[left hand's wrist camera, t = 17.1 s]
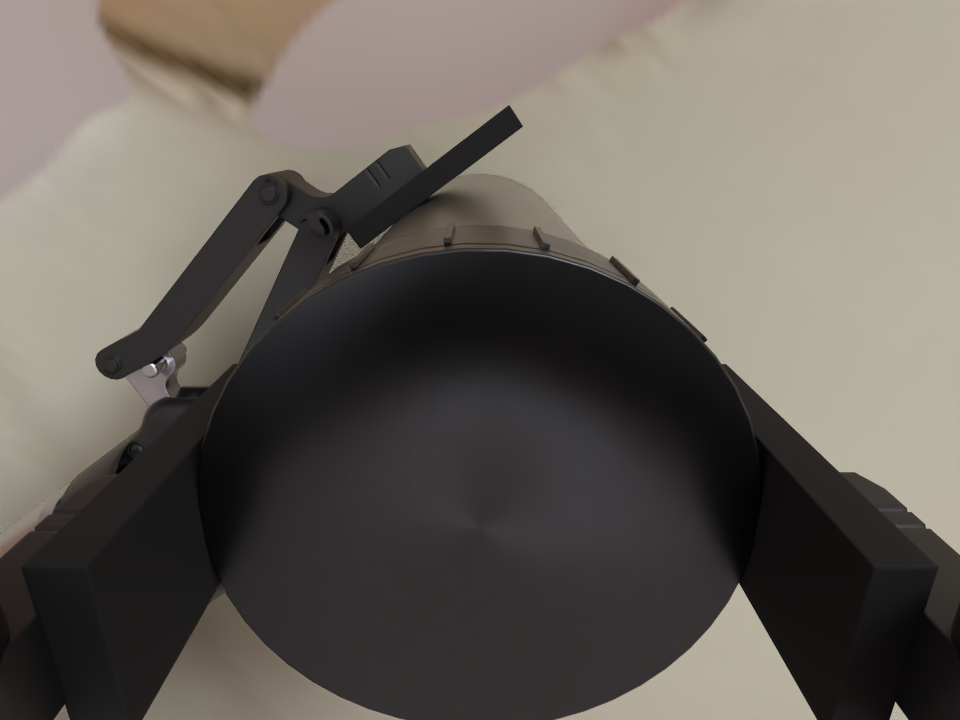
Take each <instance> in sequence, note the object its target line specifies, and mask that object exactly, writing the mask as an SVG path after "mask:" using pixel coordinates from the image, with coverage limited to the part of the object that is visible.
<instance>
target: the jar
mask: <svg viewBox="0 0 960 720" xmlns="http://www.w3.org/2000/svg"><path fill="white" fill-rule="evenodd" d="M449 222H455V226H462V225H501V226H508V227H515V228H522V229H528V230H533V229H534V226H537V227H540V228H541V230H542V231H543V233H546V234H549V235H553V236H556V237H560V238H563V239H566V240H570V241H572V242H574V243H576V244H579V245H581V246H583V247H585V248H587V247H586V246H585V245H584V243H583V242H582V241H581V240H580V239H579V238H578V237H577V236H576V235H575V234H574V232H573V231H572V230H571V229H570V228H569V227H568V226H567V225H566V224H565V223H564V221H563V220H562V219H561V218H560V217H559V216H558V215H557V214H556V213H555V212H554V210H553V209H552V208H551V207H550V206H549V205H548V204H547V203H546V202H545V201H544V200H543V199H542V198H541V197H540V196H539V195H537V194H536V193H535V192H533V191H532V190H531V189H529V188H527V187H525V186H524V185H522V184H520V183H518V182H515V181H513V180H510V179H507V178H503V177H499V176H494V175H485V174H480V175H466V176H460V177H456V178H454V179H452V180H451V181H450V182H448V183H447V184H446V185H444V186H443V187H442V188H441V189H439V190H438V191H437V192H435V193H434V194H433V195H431V196H430V197H429V198H427V199H426V200H425V201H423V202H422V203H421V204H419V205H418V206H417V207H415V208H414V209H413V210H411V211H410V212H409V213H407V214H406V215H404V216H403V217H402V218H401V219H399V220H398V221H397V222H395V223H394V224H393V226H392V227H391V228H390V229H389V230H388V231H387V232H386V233H385V234H384V235H383V237H382V238H381V239H380V240H379V241H378V242H377V243H376V244H375V245H374V246H375V247H376V246H379V245H381V244H384V243H386V242H389V241H391V240H394V239H396V238H399V237H403V236H407V235H410V234H414V233H418V232H422V231H426V230H430V229H436V228H445V227H447V226H448V223H449Z"/></svg>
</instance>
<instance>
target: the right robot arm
mask: <svg viewBox="0 0 960 720" xmlns="http://www.w3.org/2000/svg"><path fill="white" fill-rule="evenodd" d="M522 127H523V126H522V124H521V123H520V121H519V119H518V118H517V116H516V115H515V113H514V112H513V110H512V109H511V107H510V106H507V107H506V108H505V109H503V110H502V111H501V112H500V113H498V114H497V115H496V116H494V117H493V118H492V119H490V120H489V121H488V122H486V123H485V124H484V125H483V126H481V127H480V128H479V129H477V130H476V131H475V132H473V133H472V134H471V135H469V136H468V137H467V138H466V139H464V140H463V141H462V142H460V143H459V144H458V145H456V146H455V147H454V148H453V149H451V150H450V151H449V152H447V153H446V154H445V155H443V156H442V157H441V158H439V159H438V160H437V161H436V162H434V163H433V164H432V165H430V166H429V167H428V168H426V166H425V165H424V163H423V162H422V161H421V159H420V158H419V156H418V155H417V154H416V152H415V151H414V149H413V148H412V147H411V145H406V146H402V147H398V148H394V149H391V150H389V151H387V152H386V153H385V154H384V155H382V156H381V157H380V158H378V159H377V160H376V161H375V162H373V163H372V164H371V165H370V166H368V167H367V168H366V169H364V170H363V171H362V172H361V173H359V174H358V175H357V176H356V177H354V178H353V179H352V180H350V181H349V182H348V183H347V184H345V185H344V186H343V187H342V188H340V189H339V190H338V191H336V192H335V193H325V192H322V191H320V190H318V189H316V188H315V187H313V186H312V185H310V184H309V183H307V182H306V181H305V180H304V178H303V177H302V176H301V175H300V174H299V173H297V172H295V171H292V170H285V171H279V172H274V173H270V174H266V175H262V176H259V177H258V178H256V179H255V180H254V181H253V182H252V184H251V185H250V186H249V187H248V189H247V190H246V191H245V193H244V194H243V195H242V197H241V198H240V199H239V200H238V202H237V203H236V204H235V206H234V207H233V208H232V210H231V211H230V212H229V213H228V215H227V216H226V217H225V219H224V220H223V221H222V223H221V224H220V225H219V226H218V228H217V229H216V230H215V232H214V233H213V234H212V236H211V237H210V238H209V239H208V241H207V242H206V243H205V245H204V246H203V247H202V249H201V250H200V251H199V252H198V254H197V255H196V256H195V258H194V259H193V260H192V262H191V263H190V264H189V265H188V267H187V268H186V269H185V271H184V272H183V273H182V275H181V276H180V277H179V278H178V280H177V281H176V282H175V284H174V285H173V286H172V288H171V289H170V290H169V291H168V293H167V294H166V295H165V297H164V298H163V299H162V301H161V302H160V303H159V304H158V306H157V307H156V308H155V310H154V311H153V312H152V314H151V315H150V316H149V317H148V319H147V320H146V321H145V323H144V324H143V325H142V327H140V328H139V329H137V330H135V331H133V332H132V333H130V334H128V335H126V336H125V337H123V338H121V339H120V340H118V341H116V342H114V343H113V344H111V345H109V346H108V347H106V348H104V349H102V350H101V351H100V352H99V353H98V354H97V356H96V359H95V361H96V366H97V368H98V370H99V371H100V372H101V373H102V374H103V375H104V376H106V377H108V378H110V379H121V378H124V377H126V378H127V379H128V381H129V382H130V383H131V384H132V386H133V387H134V388H135V390H136V391H137V392H138V393H139V395H140V396H141V397H142V399H143V400H144V401H145V403H146V404H147V405H148V406H149V408H148V409H147V411H146V413H145V415H144V419H143V422H142V425H141V427H140V429H139V430H138V431H136V432H135V433H134V434H132V435H131V436H130V437H128V438H127V439H126V440H124V441H123V442H122V443H120V444H119V445H118V446H116V447H115V448H114V449H112V450H111V451H110V452H108V453H107V454H106V455H104V456H103V457H102V458H100V459H99V460H98V461H96V462H95V463H94V464H92V465H91V466H90V467H88V468H87V469H86V470H84V471H83V472H82V473H80V474H79V475H78V476H77V477H76V478H75V479H74V480H73V481H72V482H69V483H67V484H66V485H64V486H63V487H62V488H60V489H59V490H58V491H56V492H55V493H53V494H52V495H51V496H49V497H48V498H47V499H45V500H44V501H43V502H41V503H40V504H39V505H37V506H36V507H35V508H33V509H32V510H31V511H29V512H28V513H27V514H25V515H24V516H23V517H21V518H20V519H18V520H17V521H16V522H14V523H13V524H12V525H10V526H9V527H8V528H6V529H5V530H4V531H2V532H1V533H0V558H1V557H2V556H3V555H4V554H5V553H6V552H7V551H9V550H10V549H11V548H12V547H13V546H14V545H15V544H16V543H18V542H19V541H20V540H21V539H22V538H23V537H24V536H25V535H26V534H28V533H29V532H30V531H34V530H35V526H37V525H38V524H39V523H40V522H41V521H42V520H43V519H44V518H45V517H47V516H48V515H52V514H53V510H54V509H56V508H57V507H58V506H59V505H60V504H61V503H62V502H63V501H64V500H66V499H67V498H68V497H69V496H70V495H71V494H72V493H73V492H75V491H76V490H78V489H80V488H82V487H84V486H85V485H87V484H89V483H91V482H93V481H95V480H96V479H98V478H100V477H102V476H104V475H118V474H119V473H120V472H121V471H122V470H123V469H124V468H125V467H126V466H127V465H128V464H129V463H131V462H132V461H133V460H134V459H135V458H136V457H137V456H138V455H139V454H140V453H141V452H142V451H143V450H144V449H145V448H146V447H147V446H148V445H149V444H150V443H151V442H153V441H154V440H155V439H156V438H157V437H158V436H159V435H160V434H161V433H162V432H163V431H164V430H165V429H166V428H167V427H168V426H169V425H170V424H171V423H172V422H173V421H175V420H176V419H177V418H178V417H179V416H180V415H181V414H182V413H183V412H184V411H185V410H186V409H187V408H188V407H189V406H190V405H191V404H192V403H193V402H194V401H196V400H197V399H198V398H199V397H200V396H201V395H202V394H203V393H204V392H205V391H206V390H207V389H208V388H209V387H196V386H183V387H180V385H179V384H178V381H177V373H178V370H179V369H180V368H181V367H182V366H183V365H184V364H185V362H186V346H185V345H184V344H183V343H181V342H182V341H184V340H185V339H186V338H188V337H189V336H190V335H192V334H193V333H194V332H195V331H197V330H198V329H199V328H200V326H201V325H202V324H203V323H204V322H205V321H206V320H207V318H208V317H209V316H210V315H211V313H212V312H213V311H214V310H215V309H216V307H217V306H218V305H219V304H220V302H221V301H222V300H223V299H224V297H225V296H226V295H227V294H228V292H229V291H230V290H231V289H232V287H233V286H234V285H235V284H236V282H237V281H238V280H239V279H240V277H241V276H242V275H243V274H244V272H245V271H246V270H247V269H248V268H249V266H250V265H251V264H252V263H253V261H254V260H255V259H256V258H257V256H258V255H259V254H260V253H261V251H262V250H263V249H264V248H265V246H266V245H267V244H268V243H269V241H270V240H271V239H272V238H273V236H274V235H275V234H276V233H277V231H278V230H279V229H280V228H281V227H282V225H283V224H284V223H285V222H286V221H287V222H289V223H290V224H292V225H293V226H295V227H296V228H298V229H299V230H298V232H297V234H296V237H295V239H294V241H293V243H292V245H291V248H290V250H289V252H288V254H287V257H286V259H285V261H284V263H283V266H282V268H281V270H280V272H279V274H278V277H277V279H276V281H275V283H274V286H273V288H272V290H271V292H270V295H269V297H268V299H267V301H266V303H265V306H264V308H263V310H262V312H261V315H260V317H259V319H258V321H257V323H256V326H255V328H254V330H253V332H252V335H251V337H250V339H249V341H248V344H247V346H246V348H245V350H244V352H243V355H242V357H241V359H240V361H241V360H242V359H243V357H244V356H245V354H246V353H247V351H248V350H249V349H250V348H251V347H252V346H253V345H254V344H255V343H256V342H257V341H258V340H259V339H260V337H261V336H262V335H263V334H264V333H265V332H266V331H267V330H268V329H269V328H270V327H271V326H272V325H273V324H274V323H275V322H276V320H275V319H273V316H274V315H275V314H276V313H277V312H278V311H280V310H281V309H282V308H283V307H284V306H285V305H286V304H287V303H288V302H290V301H291V300H292V299H293V298H294V297H295V296H296V295H297V294H298V293H299V292H301V291H302V290H303V289H304V288H305V287H306V288H307V289H308V290H310V289H311V288H312V287H313V286H314V285H316V284H317V283H318V282H319V281H321V280H322V279H323V278H325V277H326V276H327V275H328V273H329V271H330V269H331V267H332V265H333V263H334V261H335V259H336V257H337V255H338V252H339V250H340V248H341V246H342V244H343V242H344V240H345V238H346V236H347V234H348V233H349V234H350V236H351V237H352V238H353V240H354V241H355V242H356V243H357V245H358V246H359V247H360V248H362V247H363V246H365V245H366V244H367V243H369V242H370V241H371V240H373V239H374V238H375V237H377V236H378V235H379V234H381V233H382V232H383V231H385V230H386V229H387V228H389V227H390V226H391V225H393V224H394V223H395V222H397V221H398V220H399V219H401V218H402V217H403V216H404V215H406V214H407V213H409V212H410V211H411V210H413V209H414V208H415V207H417V206H418V205H419V204H421V203H422V202H423V201H425V200H426V199H427V198H429V197H430V196H431V195H433V194H434V193H435V192H437V191H438V190H439V189H441V188H442V187H443V186H444V185H446V184H447V183H448V182H450V181H451V180H452V179H454V178H455V177H456V176H458V175H459V174H460V173H462V172H463V171H464V170H466V169H467V168H468V167H470V166H471V165H472V164H474V163H475V162H476V161H478V160H479V159H480V158H482V157H483V156H484V155H486V154H487V153H488V152H490V151H491V150H492V149H494V148H495V147H496V146H498V145H499V144H500V143H502V142H503V141H504V140H506V139H507V138H508V137H510V136H511V135H512V134H514V133H515V132H516V131H518V130H519V129H520V128H522ZM240 361H239V363H240ZM224 593H225V590H224V588H223V586H222V584H221V583H220V585H219V586H218V588H217V590H216V592H215V593H214V595H213V597H212V599H211V600H210V602H211V601H213V600H214V599H216V598H217V597H219V596H221V595H222V594H224ZM210 602H209V603H210Z"/></svg>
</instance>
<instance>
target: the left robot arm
mask: <svg viewBox="0 0 960 720" xmlns="http://www.w3.org/2000/svg"><path fill="white" fill-rule="evenodd" d="M237 366H238V364H233V365H232V366H231V367H230V368H229V369H228V370H227V371H226V372H225V373H224V374H223V375H222V376H221V377H220V378H219V379H218V380H216V381H215V382H214V383H213V384H212V385H211V386H210V387H209V388H208V389H207V390H206V391H205V392H204V393H203V394H202V395H201V396H200V397H199V398H198V399H197V400H196V401H194V402H193V403H192V404H191V405H190V406H189V407H188V408H187V409H186V410H185V411H184V412H183V413H182V414H181V415H180V416H179V417H178V418H177V419H176V420H175V421H173V422H172V423H171V424H170V425H169V426H168V427H167V428H166V429H165V430H164V431H163V432H162V433H161V434H160V435H159V436H158V437H157V438H156V439H155V440H154V441H153V442H151V443H150V444H149V445H148V446H147V447H146V448H145V449H144V450H143V451H142V452H141V453H140V454H139V455H138V456H137V457H136V458H135V459H134V460H133V461H132V462H131V463H129V464H128V465H127V466H126V467H125V468H124V469H123V470H122V471H121V472H120V473H119V474H118V475H104V476H102V477H100V478H98V479H96V480H95V481H93V482H91V483H89V484H87V485H85V486H84V487H82V488H80V489H78V490H76V491H75V492H73V493H72V494H71V495H70V496H69V497H68V498H67V499H66V500H64V501H63V502H62V503H61V504H60V505H59V506H58V507H57V508H56V509H54V510H53V514H52V515H48V516H47V517H45V518H44V519H43V520H42V521H41V522H40V523H39V524H38V525H37V526H35V530H34V531H30V532H29V533H28V534H26V535H25V536H24V537H23V538H22V539H21V540H20V541H19V542H18V543H16V544H15V545H14V546H13V547H12V548H11V549H10V550H9V551H7V552H6V553H5V554H4V555H3V556H2V557H1V558H0V720H54V718H55V717H56V715H57V714H58V713H59V711H60V710H61V708H62V707H63V706H64V704H65V705H66V709H67V712H68V715H69V718H70V720H142V719H143V718H144V716H145V714H146V712H147V711H148V709H149V707H150V705H151V704H152V702H153V700H154V698H155V697H156V695H157V693H158V691H159V690H160V688H161V686H162V684H163V683H164V681H165V679H166V677H167V676H168V674H169V672H170V670H171V669H172V667H173V665H174V663H175V662H176V660H177V658H178V656H179V655H180V653H181V651H182V649H183V648H184V646H185V644H186V642H187V641H188V639H189V637H190V635H191V634H192V632H193V630H194V628H195V627H196V625H197V623H198V621H199V620H200V618H201V616H202V614H203V613H204V611H205V609H206V607H207V606H208V604H209V602H210V600H211V599H212V597H213V595H214V593H215V592H216V590H217V588H218V586H219V585H220V583H221V582H220V580H219V578H218V576H217V574H216V572H215V570H214V567H213V564H212V561H211V558H210V555H209V552H208V549H207V546H206V542H205V538H204V532H203V527H202V522H201V516H200V511H199V496H198V473H199V466H200V459H201V451H202V444H203V440H204V437H205V434H206V430H207V427H208V424H209V421H210V417H211V414H212V411H213V409H214V407H215V405H216V403H217V401H218V399H219V397H220V395H221V393H222V390H223V388H224V385H225V383H226V381H227V380H228V379H229V377H230V376H231V374H232V373H233V372H234V370H235V369H236V367H237ZM722 366H723V368H724V369H725V371H726V372H727V374H728V375H729V377H730V378H731V380H732V381H733V383H734V385H735V386H736V388H737V390H738V393H739V395H740V397H741V399H742V402H743V404H744V406H745V408H746V411H747V413H748V415H749V417H750V420H751V424H752V428H753V432H754V435H755V439H756V443H757V447H758V451H759V461H760V470H761V480H762V489H761V507H760V513H759V519H758V524H757V529H756V534H755V539H754V545H753V549H752V552H751V554H750V557H749V560H748V562H747V565H746V568H745V571H744V573H743V575H742V577H741V579H740V581H739V584H740V585H741V587H742V589H743V591H744V592H745V594H746V596H747V598H748V599H749V601H750V603H751V605H752V606H753V608H754V610H755V612H756V613H757V615H758V617H759V619H760V620H761V622H762V624H763V626H764V627H765V629H766V631H767V633H768V634H769V636H770V638H771V640H772V641H773V643H774V645H775V647H776V648H777V650H778V652H779V654H780V655H781V657H782V659H783V661H784V662H785V664H786V666H787V668H788V669H789V671H790V673H791V675H792V676H793V678H794V680H795V682H796V683H797V685H798V687H799V689H800V690H801V692H802V694H803V696H804V697H805V699H806V701H807V703H808V704H809V706H810V708H811V710H812V711H813V713H814V715H815V717H816V718H817V720H889V719H890V716H891V713H892V710H893V707H894V704H895V702H896V703H897V704H898V706H899V707H900V708H901V710H902V711H903V713H904V714H905V715H906V717H907V718H908V719H909V720H960V555H959V554H958V553H957V552H956V551H955V550H953V549H952V548H951V547H950V546H949V545H948V544H947V543H946V542H944V541H943V540H942V539H941V538H940V537H939V536H938V535H936V534H935V533H934V532H933V531H932V530H931V529H926V527H925V524H924V523H923V522H922V521H921V520H920V519H918V518H917V517H916V516H915V515H914V514H913V513H912V512H907V508H906V507H905V506H904V505H903V504H902V503H900V502H899V501H898V500H897V499H896V498H895V497H894V496H893V495H891V494H890V493H889V492H888V491H887V490H886V489H884V488H883V487H881V486H879V485H877V484H875V483H873V482H871V481H870V480H868V479H866V478H864V477H862V476H860V475H858V474H857V473H855V472H838V471H837V470H836V469H835V468H834V467H833V466H832V465H831V464H830V463H829V462H828V461H827V460H826V459H825V458H824V457H823V456H822V455H821V454H820V453H819V452H817V451H816V450H815V449H814V448H813V447H812V446H811V445H810V444H809V443H808V442H807V441H806V440H805V439H804V438H803V437H802V436H801V435H800V434H799V433H798V432H797V431H795V430H794V429H793V428H792V427H791V426H790V425H789V424H788V423H787V422H786V421H785V420H784V419H783V418H782V417H781V416H780V415H779V414H778V413H777V412H776V411H775V410H773V409H772V408H771V407H770V406H769V405H768V404H767V403H766V402H765V401H764V400H763V399H762V398H761V397H760V396H759V395H758V394H757V393H756V392H755V391H754V390H753V389H751V388H750V387H749V386H748V385H747V384H746V383H745V382H744V381H743V380H742V379H741V378H740V377H739V376H738V375H737V374H736V373H735V372H734V371H733V370H732V369H731V368H730V367H728V366H727V365H726V364H722Z"/></svg>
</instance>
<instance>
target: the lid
mask: <svg viewBox="0 0 960 720" xmlns="http://www.w3.org/2000/svg"><path fill="white" fill-rule="evenodd" d="M273 319H275V320H276V322H275V323H274V324H273V325H272V326H271V327H270V328H269V329H268V330H267V331H266V332H265V333H264V334H263V335H262V336H261V337H260V339H259V340H258V341H257V342H256V343H255V344H254V345H253V346H252V347H251V348H250V349H249V350H248V351H247V353H246V354H245V356H244V357H243V359H242V360H241V361H240V363H239V364H238V366H237V367H236V369H235V370H234V372H233V373H232V374H231V376H230V377H229V379H228V380H227V381H226V383H225V385H224V388H223V390H222V393H221V395H220V397H219V399H218V401H217V403H216V405H215V407H214V409H213V411H212V414H211V417H210V421H209V424H208V427H207V430H206V434H205V437H204V440H203V444H202V451H201V459H200V466H199V473H198V496H199V511H200V516H201V522H202V527H203V532H204V538H205V542H206V546H207V549H208V552H209V555H210V558H211V561H212V564H213V567H214V570H215V572H216V574H217V576H218V578H219V580H220V582H221V584H222V586H223V588H224V590H225V592H226V594H227V596H228V597H229V599H230V600H231V602H232V603H233V605H234V606H235V608H236V609H237V610H238V612H239V613H240V615H241V616H242V618H243V619H244V621H245V622H246V623H247V624H248V625H249V626H250V628H251V629H252V630H253V631H254V632H255V633H256V634H257V636H258V637H259V638H260V639H261V640H262V641H263V642H264V643H265V644H266V645H267V646H268V647H269V648H270V649H271V650H272V651H273V652H275V653H276V654H277V655H278V656H279V657H280V658H281V659H282V660H284V661H285V662H286V663H287V664H288V665H290V666H291V667H292V668H294V669H295V670H297V671H298V672H300V673H301V674H302V675H304V676H305V677H307V678H308V679H309V680H311V681H312V682H314V683H316V684H318V685H319V686H321V687H323V688H325V689H327V690H328V691H330V692H332V693H334V694H336V695H337V696H339V697H341V698H344V699H346V700H349V701H351V702H353V703H356V704H358V705H360V706H363V707H365V708H367V709H370V710H373V711H377V712H380V713H383V714H386V715H390V716H393V717H396V718H400V719H405V720H556V719H559V718H563V717H566V716H570V715H573V714H577V713H580V712H584V711H586V710H589V709H591V708H594V707H596V706H599V705H601V704H604V703H606V702H609V701H612V700H614V699H616V698H618V697H620V696H621V695H623V694H625V693H627V692H629V691H631V690H633V689H635V688H637V687H639V686H641V685H642V684H644V683H645V682H647V681H648V680H650V679H651V678H653V677H654V676H656V675H657V674H659V673H660V672H662V671H663V670H665V669H666V668H667V667H669V666H670V665H671V664H672V663H673V662H674V661H676V660H677V659H678V658H679V657H680V656H682V655H683V654H684V653H685V652H686V651H688V650H689V649H690V648H691V647H692V646H693V645H694V644H695V642H696V641H697V640H698V639H699V638H700V637H701V636H702V635H703V634H704V633H705V632H706V631H707V630H708V629H709V627H710V626H711V625H712V624H713V622H714V621H715V620H716V618H717V617H718V615H719V614H720V613H721V611H722V610H723V608H724V607H725V606H726V604H727V603H728V602H729V600H730V598H731V596H732V594H733V592H734V590H735V589H736V587H737V585H738V583H739V581H740V579H741V577H742V575H743V573H744V571H745V568H746V565H747V562H748V560H749V557H750V554H751V552H752V549H753V545H754V539H755V534H756V529H757V524H758V519H759V513H760V507H761V489H762V480H761V470H760V461H759V451H758V447H757V443H756V439H755V435H754V432H753V428H752V424H751V420H750V417H749V415H748V413H747V411H746V408H745V406H744V404H743V402H742V399H741V397H740V395H739V393H738V390H737V388H736V386H735V385H734V383H733V381H732V380H731V378H730V377H729V375H728V374H727V372H726V371H725V369H724V368H723V366H722V364H721V363H720V361H719V360H718V358H717V357H716V356H715V354H714V353H713V352H712V351H711V350H710V349H709V348H708V347H707V345H706V344H705V343H704V342H706V341H707V339H706V337H705V336H704V335H703V334H702V333H701V332H700V331H699V330H697V329H696V328H695V327H694V326H693V325H692V324H691V323H690V322H689V321H688V320H687V319H685V318H684V317H683V316H682V315H681V314H680V313H679V312H678V311H677V310H676V309H675V308H673V307H671V308H669V307H668V306H667V305H666V304H665V303H664V302H663V301H662V300H660V299H659V298H658V297H657V296H656V295H655V294H654V293H653V292H652V291H651V290H650V289H648V288H647V287H646V286H645V285H644V284H642V283H641V282H640V280H639V279H638V278H637V277H636V276H635V275H634V274H633V273H632V272H631V271H630V270H629V269H628V268H626V267H625V266H624V265H623V264H622V263H621V262H620V261H619V260H618V259H617V258H615V257H614V256H612V257H611V259H610V260H609V259H607V258H606V257H604V256H602V255H601V254H599V253H597V252H594V251H592V250H590V249H588V248H585V247H583V246H581V245H579V244H576V243H574V242H572V241H570V240H566V239H563V238H560V237H556V236H553V235H549V234H546V233H543V231H542V230H541V228H540V227H537V226H534V229H533V230H528V229H522V228H515V227H508V226H501V225H462V226H455V222H449V223H448V226H447V227H445V228H436V229H430V230H426V231H422V232H418V233H414V234H410V235H407V236H403V237H399V238H396V239H394V240H391V241H389V242H386V243H384V244H381V245H379V246H376V247H375V246H374V244H373V243H371V244H369V245H367V246H366V247H365V248H364V249H363V251H362V252H361V253H360V254H359V255H358V256H356V257H354V258H353V259H351V260H349V261H348V262H346V263H344V264H342V265H341V266H339V267H337V268H336V269H335V270H334V271H332V272H331V273H330V274H328V275H327V276H326V277H325V278H323V279H322V280H321V281H319V282H318V283H317V284H316V285H314V286H313V287H312V288H311V289H310V290H308V289H307V288H306V287H305V288H304V289H303V290H302V291H301V292H299V293H298V294H297V295H296V296H295V297H294V298H293V299H292V300H291V301H290V302H288V303H287V304H286V305H285V306H284V307H283V308H282V309H281V310H280V311H278V312H277V313H276V314H275V315H274V316H273Z"/></svg>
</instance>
